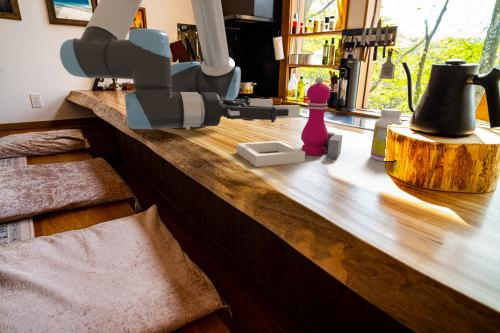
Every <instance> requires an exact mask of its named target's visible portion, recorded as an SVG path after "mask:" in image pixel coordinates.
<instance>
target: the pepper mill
mask: <svg viewBox="0 0 500 333" xmlns="http://www.w3.org/2000/svg"><path fill="white" fill-rule="evenodd" d="M315 82H316V83H313V84H310V86H309V87H308V88H307V91H306V98H307V99H308V103H307V109H308V118H307V121H306V124H305V125H304V127H303V129H302V130H301V135H300V139H301V141H302V143H303V145H301V150H302V151H304V152H305V155H307V156H314V157H315V156H318V157H319V156H324V155H325V152H326V151H325V147H324V146H323V145H324V144H325V143H326V142H327V141H328V132H329V131H328V129H327V126H326V123H325V122H326V121H325V114H326V110H327V109H328V103H327V101H328V100H329V99H330V98H331V89H330V87H329V86H328V85H326V84H325V83H323V82H324V79H323V77H321V76H319V77H317V78H316V80H315Z"/></svg>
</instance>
